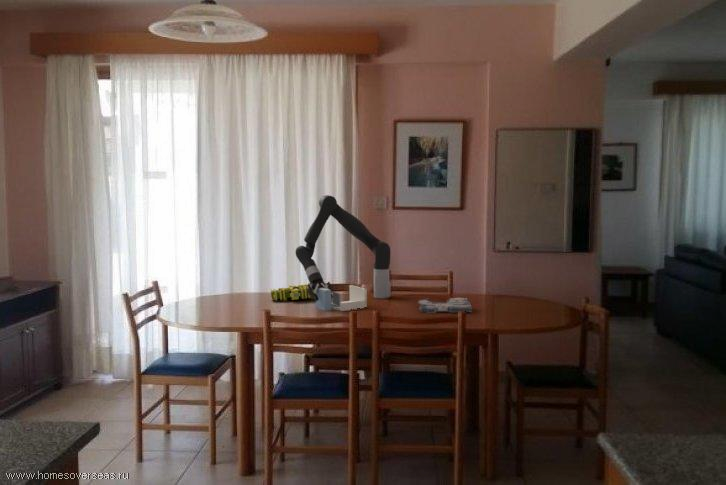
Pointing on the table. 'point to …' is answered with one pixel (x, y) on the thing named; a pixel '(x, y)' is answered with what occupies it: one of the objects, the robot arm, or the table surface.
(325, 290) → the light blue rectangular block
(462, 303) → the futuristic firearm
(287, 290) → the toy
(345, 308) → the white open holder
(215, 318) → the table surface
